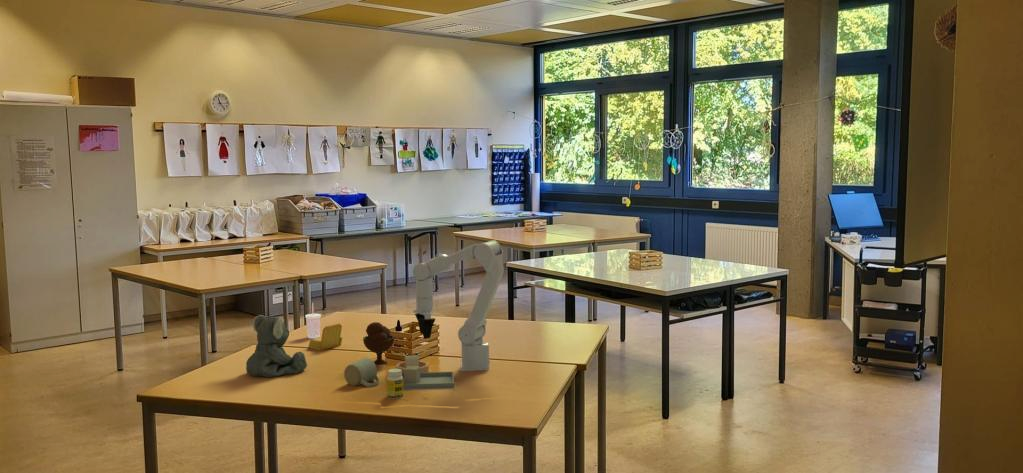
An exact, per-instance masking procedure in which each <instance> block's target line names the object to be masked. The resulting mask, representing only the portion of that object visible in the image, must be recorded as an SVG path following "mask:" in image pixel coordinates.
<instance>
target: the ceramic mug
mask: <svg viewBox="0 0 1023 473" xmlns="http://www.w3.org/2000/svg"><path fill="white" fill-rule="evenodd" d="M343 375H344V379H345V381H346V383H347V384H349V385H350V386H356V387H357V386H364V387H367V388H368V387H369V388H370V387H376V386H378V385H379V383H380V378H379V377H378V368H377V365H375V363H374V360H372V359H371V358H369V357H363V358H361V359H359V360H356V361H354V362H352V363H350V364H348V365H347V366H346V368H344V372H343ZM374 380H375V381H376V382H373V381H374ZM372 382H373V383H372Z"/></svg>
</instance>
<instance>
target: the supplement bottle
mask: <svg viewBox="0 0 1023 473" xmlns="http://www.w3.org/2000/svg"><path fill="white" fill-rule="evenodd" d="M387 375H388V376H387V378H386V393H387V394H386V397H387V398H388V399H392V400H396V399H401V398H404V391H403V377H402V376H401V375H402V370H401V369H396V368H391V369H388V370H387Z"/></svg>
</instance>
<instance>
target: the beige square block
mask: <svg viewBox="0 0 1023 473" xmlns="http://www.w3.org/2000/svg"><path fill="white" fill-rule="evenodd" d="M418 383H420V366H407V367H406V368H405V369H404V384H418Z"/></svg>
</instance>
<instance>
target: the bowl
mask: <svg viewBox="0 0 1023 473" xmlns="http://www.w3.org/2000/svg"><path fill="white" fill-rule="evenodd" d="M429 365H430V364H429V362H427V361H425V360H424V361H423V360H419V366H420V372H430V367H429ZM395 369H401V370H402V373H404V369H405V360H404V361H400V362H398V363H396V365H395Z"/></svg>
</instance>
